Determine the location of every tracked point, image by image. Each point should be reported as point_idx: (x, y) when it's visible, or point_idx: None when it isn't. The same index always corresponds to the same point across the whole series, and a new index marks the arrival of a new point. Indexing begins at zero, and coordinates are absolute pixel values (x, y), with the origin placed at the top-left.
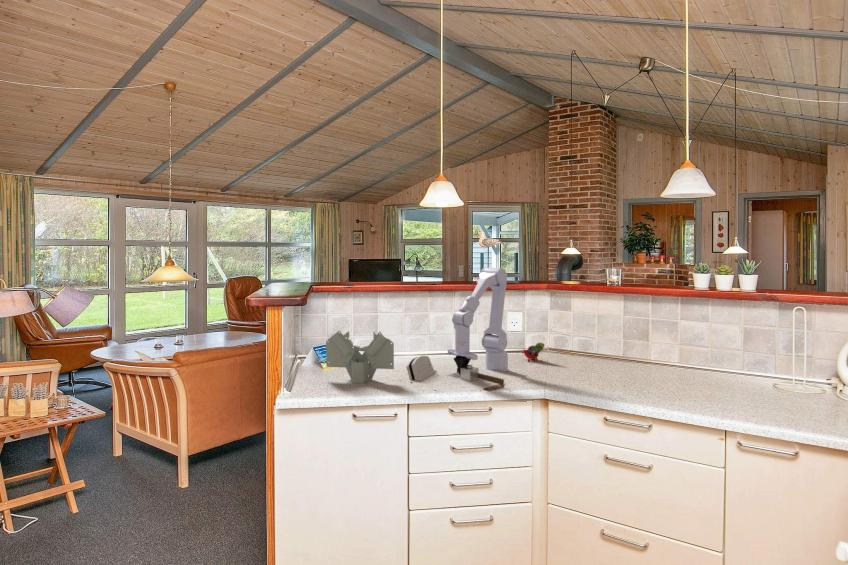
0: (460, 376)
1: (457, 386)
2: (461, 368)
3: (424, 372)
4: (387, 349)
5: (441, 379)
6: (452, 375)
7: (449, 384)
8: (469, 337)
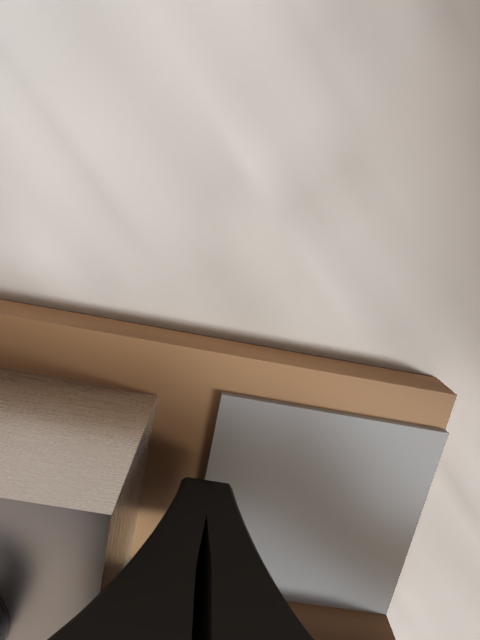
0: None
1: (55, 154)
2: (82, 501)
3: None
4: None
5: (464, 337)
6: (359, 470)
7: (219, 177)
8: None
